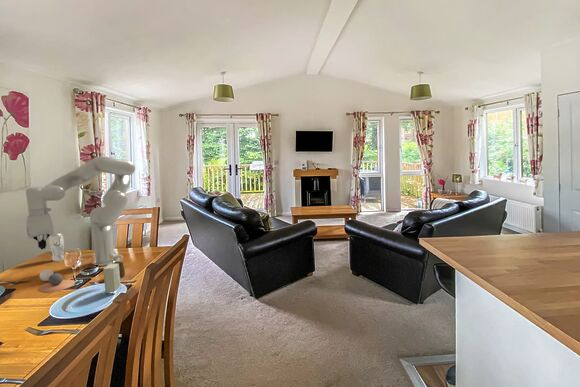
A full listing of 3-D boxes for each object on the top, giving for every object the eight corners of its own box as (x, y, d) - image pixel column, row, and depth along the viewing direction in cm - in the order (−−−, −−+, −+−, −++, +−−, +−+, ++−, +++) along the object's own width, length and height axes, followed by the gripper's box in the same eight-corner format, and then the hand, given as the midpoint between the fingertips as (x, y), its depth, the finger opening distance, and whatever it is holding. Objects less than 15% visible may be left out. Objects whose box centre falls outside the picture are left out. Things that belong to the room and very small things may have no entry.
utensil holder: (122, 278, 166) (120, 255, 164) (109, 279, 165) (106, 255, 164) (127, 274, 172) (125, 251, 170) (114, 274, 171) (112, 252, 170)
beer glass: (58, 262, 193) (55, 236, 190) (48, 261, 194) (45, 236, 192) (68, 258, 199) (66, 233, 197) (58, 257, 201) (56, 233, 199)
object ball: (62, 274, 164) (66, 276, 161) (56, 285, 162) (60, 288, 159) (51, 270, 160) (55, 273, 157) (44, 281, 158) (48, 284, 155)
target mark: (79, 278, 167) (79, 278, 167) (69, 290, 154) (69, 289, 154) (47, 282, 163) (46, 281, 163) (33, 294, 150) (33, 293, 150)
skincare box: (111, 289, 154) (109, 263, 152) (121, 288, 154) (119, 263, 153) (105, 295, 148) (102, 268, 146) (115, 294, 148) (113, 268, 146)
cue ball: (54, 267, 167) (57, 277, 167) (46, 269, 168) (49, 279, 168) (43, 270, 161) (46, 281, 161) (35, 272, 163) (38, 283, 163)
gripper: (53, 209, 173) (57, 243, 176) (17, 213, 162) (22, 250, 164) (58, 210, 168) (62, 246, 171) (21, 215, 157) (26, 253, 160)
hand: (42, 248), depth 168 cm, fingers closed
